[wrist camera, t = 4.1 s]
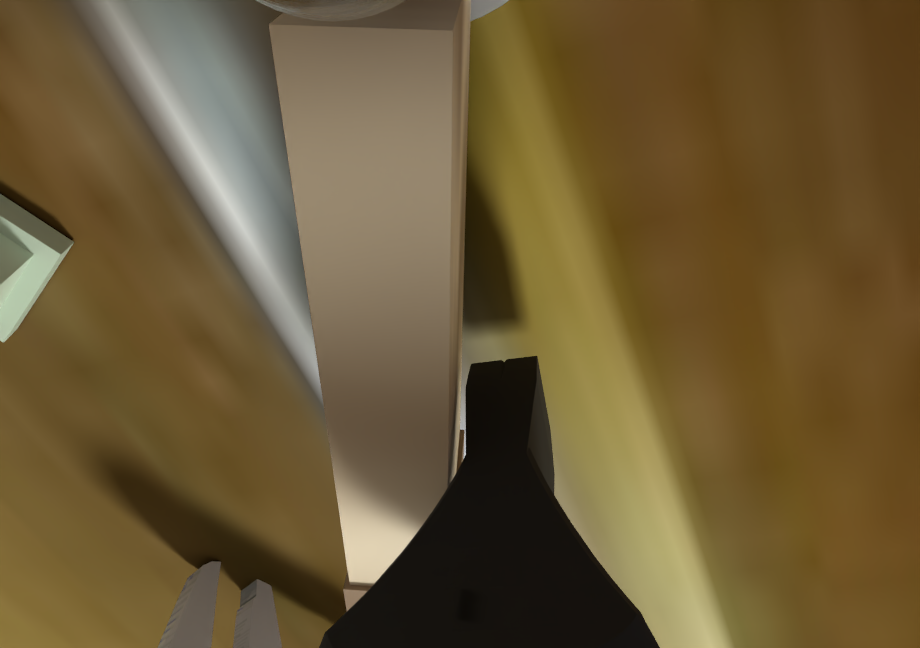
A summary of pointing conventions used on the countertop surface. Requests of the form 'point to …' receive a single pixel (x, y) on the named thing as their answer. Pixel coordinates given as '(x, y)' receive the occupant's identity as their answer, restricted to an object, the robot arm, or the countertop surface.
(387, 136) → the gate
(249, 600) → the caliper
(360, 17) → the hinge post
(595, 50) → the countertop surface
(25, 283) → the latch post
